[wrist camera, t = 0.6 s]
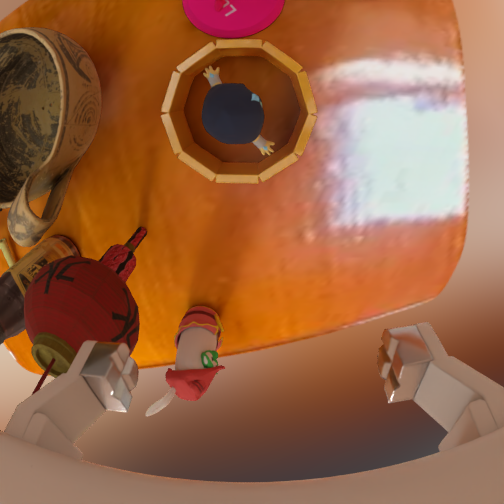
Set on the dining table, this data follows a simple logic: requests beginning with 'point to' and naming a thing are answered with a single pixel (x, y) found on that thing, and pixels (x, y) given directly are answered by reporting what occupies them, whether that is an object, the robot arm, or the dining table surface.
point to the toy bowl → (205, 160)
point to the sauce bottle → (27, 281)
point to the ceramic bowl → (42, 123)
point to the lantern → (81, 306)
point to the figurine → (232, 16)
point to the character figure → (233, 113)
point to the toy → (193, 356)
